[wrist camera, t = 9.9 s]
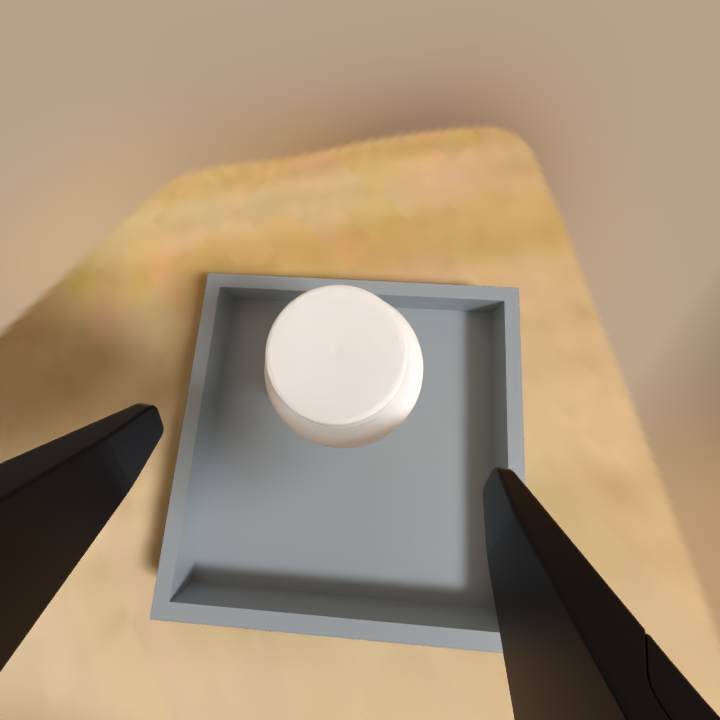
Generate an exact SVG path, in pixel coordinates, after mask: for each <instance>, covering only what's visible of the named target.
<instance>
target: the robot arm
mask: <svg viewBox="0 0 720 720" xmlns="http://www.w3.org/2000/svg"><path fill="white" fill-rule="evenodd" d="M163 430H164V429H163V424H162V421H161V418H160V415H159V412H158V409H157V408H156V407H155V406H154V405H149V404H143V403H139V404H135V405H133V406H131V407H129V408H126V409H124V410H122V411H119V412H117V413H115V414H113V415H110V416H108V417H106V418H103V419H101V420H99V421H97V422H94V423H92V424H90V425H87V426H85V427H83V428H81V429H78V430H76V431H74V432H71V433H69V434H67V435H65V436H62V437H60V438H58V439H55V440H53V441H51V442H49V443H46V444H44V445H42V446H39V447H37V448H35V449H33V450H30V451H28V452H26V453H23V454H21V455H19V456H17V457H14V458H12V459H10V460H7V461H5V462H3V463H0V672H1V670H2V669H3V667H4V666H5V665H6V663H7V662H8V660H9V659H10V658H11V656H12V655H13V653H14V652H15V651H16V649H17V648H18V646H19V645H20V644H21V642H22V641H23V639H24V638H25V637H26V635H27V634H28V632H29V631H30V630H31V628H32V627H33V625H34V624H35V622H36V621H37V620H38V618H39V617H40V615H41V614H42V613H43V611H44V610H45V608H46V607H47V606H48V604H49V603H50V601H51V600H52V599H53V597H54V596H55V594H56V593H57V592H58V590H59V589H60V587H61V586H62V585H63V583H64V582H65V580H66V579H67V578H68V576H69V575H70V573H71V572H72V571H73V569H74V568H75V566H76V565H77V564H78V562H79V561H80V559H81V558H82V557H83V555H84V554H85V552H86V551H87V550H88V548H89V547H90V545H91V544H92V543H93V541H94V540H95V538H96V537H97V536H98V534H99V533H100V531H101V530H102V528H103V527H104V526H105V524H106V523H107V521H108V520H109V519H110V517H111V516H112V514H113V513H114V512H115V510H116V509H117V507H118V506H119V505H120V503H121V502H122V500H123V499H124V498H125V496H126V495H127V493H128V492H129V490H130V489H131V487H132V486H133V484H134V483H135V481H136V479H137V478H138V476H139V474H140V473H141V471H142V469H143V467H144V466H145V464H146V462H147V460H148V459H149V457H150V455H151V454H152V452H153V450H154V448H155V447H156V445H157V443H158V441H159V440H160V438H161V436H162V434H163ZM483 509H484V524H485V540H486V553H487V561H488V568H489V574H490V579H491V585H492V591H493V597H494V603H495V608H496V614H497V620H498V626H499V632H500V637H501V643H502V649H503V655H504V661H505V666H506V672H507V678H508V684H509V690H510V695H511V701H512V707H513V713H514V719H515V720H720V717H719V716H718V715H717V714H716V712H715V711H714V710H713V709H712V708H711V707H710V706H709V705H708V703H707V702H706V701H705V700H704V699H703V698H702V697H701V695H700V694H699V693H698V692H697V691H696V690H695V688H694V687H693V686H692V685H691V684H690V683H689V681H688V680H687V679H686V678H685V677H684V676H683V674H682V673H681V672H680V671H679V670H678V668H677V667H676V666H675V665H674V664H673V663H672V661H671V660H670V659H669V658H668V657H667V655H666V654H665V653H664V652H663V651H662V649H661V648H660V647H659V646H658V645H657V643H656V642H655V641H654V640H653V639H652V637H651V636H650V635H649V634H645V629H644V628H643V627H642V626H641V624H640V623H639V622H638V621H637V619H636V618H635V617H634V616H633V615H632V613H631V612H630V611H629V610H628V609H627V607H626V606H625V605H624V604H623V603H622V601H621V600H620V599H619V598H618V597H617V595H616V594H615V593H614V592H613V591H612V589H611V588H610V587H609V586H608V584H607V583H606V582H605V581H604V580H603V578H602V577H601V576H600V575H599V574H598V572H597V571H596V570H595V569H594V568H593V566H592V565H591V564H590V563H589V562H588V560H587V559H586V558H585V557H584V556H583V554H582V553H581V552H580V551H579V549H578V548H577V547H576V546H575V545H574V543H573V542H572V541H571V540H570V539H569V537H568V536H567V535H566V534H565V533H564V531H563V530H562V529H561V528H560V527H559V525H558V524H557V523H556V522H555V521H554V519H553V518H552V517H551V516H550V514H549V513H548V512H547V511H546V510H545V508H544V507H543V506H542V505H541V504H540V502H539V501H538V500H537V499H536V498H535V496H534V495H533V494H532V493H531V492H530V490H529V489H528V488H527V487H526V486H525V484H524V483H523V482H522V481H521V479H520V478H519V477H518V476H517V475H516V473H515V472H514V471H512V470H511V469H508V468H502V467H494V468H493V469H492V471H491V473H490V475H489V477H488V479H487V481H486V482H485V484H484V487H483Z"/></svg>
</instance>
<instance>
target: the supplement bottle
mask: <svg viewBox="0 0 720 720" xmlns="http://www.w3.org/2000/svg"><path fill="white" fill-rule="evenodd" d="M264 374H265V383H266V388H267V392H268V395H269V398H270V401H271V403H272V405H273V407H274V408H275V410H276V412H277V414H278V415H279V416H280V418H281V419H282V420H283V421H284V423H285V424H286V425H287V426H288V427H289V428H291V429H292V430H293V431H294V432H296V433H297V434H298V435H300V436H301V437H303V438H305V439H307V440H309V441H311V442H313V443H316V444H319V445H322V446H326V447H332V448H355V447H359V446H364V445H367V444H370V443H373V442H376V441H378V440H380V439H382V438H383V437H385V436H387V435H388V434H390V433H391V432H392V431H394V430H395V429H396V428H397V427H398V426H399V425H400V424H401V423H402V422H403V421H404V420H405V419H406V418H407V416H408V415H409V413H410V412H411V410H412V409H413V407H414V405H415V403H416V401H417V399H418V396H419V393H420V390H421V386H422V380H423V357H422V352H421V348H420V345H419V342H418V339H417V337H416V335H415V333H414V331H413V329H412V327H411V326H410V324H409V323H408V322H407V321H406V319H405V318H404V317H403V316H402V315H401V314H400V313H399V312H398V311H397V310H396V309H395V308H393V307H392V306H391V305H389V304H388V303H386V302H385V301H383V300H381V299H380V298H379V297H377V296H376V295H374V294H373V293H370V292H368V291H366V290H364V289H361V288H358V287H354V286H348V285H329V286H322V287H319V288H315V289H312V290H310V291H307V292H305V293H303V294H302V295H300V296H298V297H297V298H295V299H294V300H293V301H291V302H290V303H289V304H288V305H287V306H286V307H285V308H284V309H283V310H282V311H281V313H280V314H279V315H278V317H277V318H276V320H275V322H274V323H273V325H272V327H271V330H270V332H269V335H268V339H267V344H266V350H265V369H264Z"/></svg>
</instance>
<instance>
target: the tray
mask: <svg viewBox="0 0 720 720" xmlns="http://www.w3.org/2000/svg"><path fill="white" fill-rule="evenodd" d="M329 285H348V286H354V287H358V288H361V289H364V290H366V291H368V292H370V293H373V294H374V295H376V296H377V297H379V298H380V299H381V300H383V301H385V302H386V303H388V304H389V305H391V306H392V307H393V308H395V309H396V310H397V311H398V312H399V313H400V314H401V315H402V316H403V317H404V318H405V319H406V321H407V322H408V323H409V324H410V326H411V327H412V329H413V331H414V333H415V335H416V337H417V339H418V342H419V345H420V348H421V352H422V357H423V380H422V386H421V390H420V393H419V396H418V399H417V401H416V403H415V405H414V407H413V409H412V410H411V412H410V413H409V415H408V416H407V418H406V419H405V420H404V421H403V422H402V423H401V424H400V425H399V426H398V427H397V428H396V429H395V430H394V431H392V432H391V433H390V434H388V435H387V436H385V437H383V438H382V439H380V440H378V441H376V442H373V443H370V444H367V445H364V446H359V447H355V448H332V447H326V446H322V445H319V444H316V443H313V442H311V441H309V440H307V439H305V438H303V437H301V436H300V435H298V434H297V433H296V432H294V431H293V430H292V429H291V428H289V427H288V426H287V425H286V424H285V423H284V421H283V420H282V419H281V418H280V416H279V415H278V414H277V412H276V410H275V408H274V407H273V405H272V403H271V401H270V398H269V395H268V392H267V388H266V383H265V374H264V369H265V350H266V344H267V339H268V335H269V332H270V330H271V327H272V325H273V323H274V322H275V320H276V318H277V317H278V315H279V314H280V313H281V311H282V310H283V309H284V308H285V307H286V306H287V305H288V304H289V303H290V302H291V301H293V300H294V299H295V298H297V297H298V296H300V295H302V294H303V293H305V292H307V291H310V290H312V289H315V288H319V287H322V286H329ZM494 467H502V468H508V469H511V470H512V471H514V472H515V473H516V475H517V476H518V477H519V478H520V479H521V481H522V482H523V483H524V484H525V461H524V430H523V400H522V369H521V338H520V308H519V288H512V287H491V286H470V285H449V284H428V283H408V282H387V281H366V280H345V279H324V278H303V277H282V276H261V275H241V274H220V273H208V277H207V283H206V289H205V295H204V301H203V307H202V313H201V319H200V324H199V330H198V336H197V342H196V348H195V354H194V360H193V366H192V372H191V378H190V384H189V389H188V395H187V401H186V407H185V413H184V419H183V425H182V431H181V437H180V443H179V448H178V454H177V460H176V466H175V472H174V478H173V484H172V490H171V496H170V502H169V508H168V513H167V519H166V525H165V531H164V537H163V543H162V549H161V555H160V561H159V567H158V572H157V578H156V584H155V590H154V596H153V602H152V608H151V614H150V620H160V621H171V622H181V623H192V624H202V625H212V626H223V627H233V628H244V629H254V630H265V631H275V632H285V633H296V634H306V635H317V636H327V637H337V638H348V639H358V640H369V641H379V642H390V643H400V644H410V645H421V646H431V647H442V648H452V649H462V650H473V651H483V652H494V653H503V649H502V643H501V637H500V632H499V626H498V620H497V614H496V608H495V603H494V597H493V591H492V585H491V579H490V574H489V568H488V561H487V553H486V540H485V524H484V509H483V487H484V484H485V482H486V481H487V479H488V477H489V475H490V473H491V471H492V469H493V468H494Z"/></svg>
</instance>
